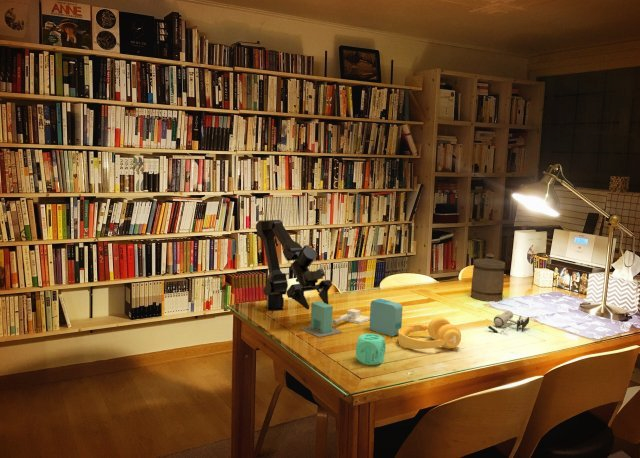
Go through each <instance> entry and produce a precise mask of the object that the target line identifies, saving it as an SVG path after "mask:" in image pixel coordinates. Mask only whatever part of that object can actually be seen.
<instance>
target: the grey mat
mask: <svg viewBox="0 0 640 458" xmlns="http://www.w3.org/2000/svg"><path fill="white" fill-rule="evenodd" d="M299 329H300V330H302V331H304V332H306V333H308V334H311V335H313V336H315V337H317V338H324V337H329V336H332V335H337V334H342V333H343V331H342V330H339V329H336V328H334V327H332V332H329V333H324V334H323V333H321V332H320V329H321V328H317V329H312V328H311V325H309V326H304V327H300V328H299Z"/></svg>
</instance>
